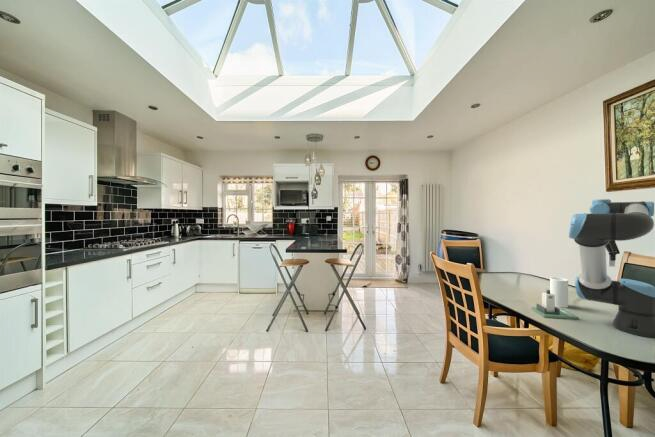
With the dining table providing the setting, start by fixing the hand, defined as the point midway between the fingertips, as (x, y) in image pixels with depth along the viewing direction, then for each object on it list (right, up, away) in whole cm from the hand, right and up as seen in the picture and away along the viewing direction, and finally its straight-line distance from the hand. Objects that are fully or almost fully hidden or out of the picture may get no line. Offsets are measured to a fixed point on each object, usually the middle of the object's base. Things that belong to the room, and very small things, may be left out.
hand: (600, 264), depth 148 cm
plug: (-33, -26, -3) cm, 42 cm away
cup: (-15, -27, +10) cm, 32 cm away
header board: (-30, -27, -4) cm, 41 cm away
